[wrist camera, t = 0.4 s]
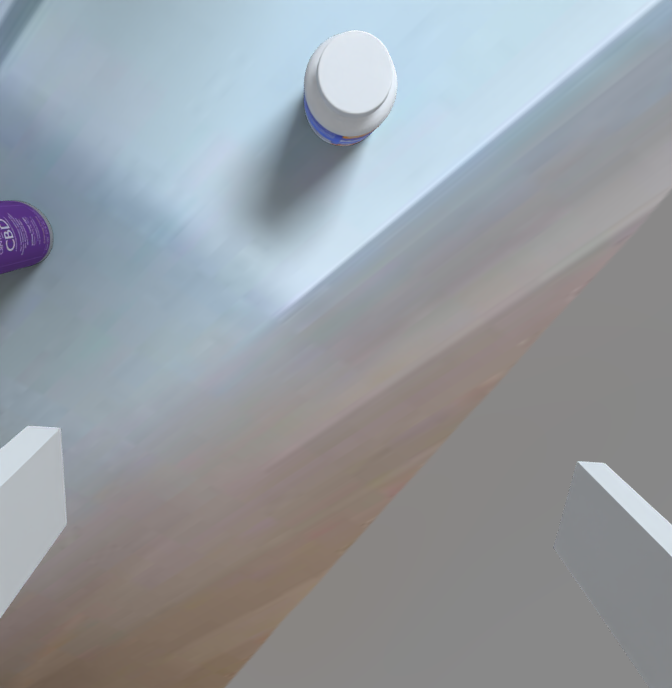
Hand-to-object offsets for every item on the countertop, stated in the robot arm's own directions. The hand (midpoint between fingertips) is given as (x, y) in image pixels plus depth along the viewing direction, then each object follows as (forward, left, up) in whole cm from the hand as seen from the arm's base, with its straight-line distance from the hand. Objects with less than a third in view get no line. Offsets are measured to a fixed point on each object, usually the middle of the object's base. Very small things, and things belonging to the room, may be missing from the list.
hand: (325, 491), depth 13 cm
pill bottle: (-13, +2, -28) cm, 30 cm away
